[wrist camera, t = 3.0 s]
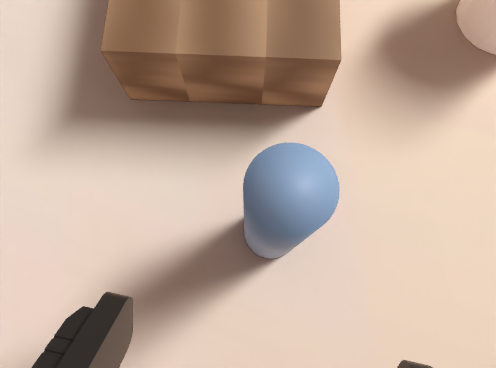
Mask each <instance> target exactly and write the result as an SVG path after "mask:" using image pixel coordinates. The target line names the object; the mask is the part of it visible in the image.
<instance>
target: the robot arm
mask: <svg viewBox="0 0 496 368" xmlns="http://www.w3.org/2000/svg"><path fill="white" fill-rule="evenodd" d="M132 331H133V300H132V297H128V296H124V295H120V294H115V293H111V292H106V293H105V294H104V295H103V296H102V297H101V299H100V300H99V302H98V304H97V305H96V307H95V308H94V309H93V308H89V307H84V306H83V307H82V308H80V309H79V310H77V311H76V312H75V313H73V314H72V315H71V316H69V317H68V318H67V319H66V320H65V321H64V323H63V324H62V326H61V327H60V328H59V330H58V331H57V333H56V334H55V336H54V338H53V339H52V340H51V341H50V342H49V344H48V345H47V347H46V348H45V351H44V353H42V354H41V355H40V357H39V358H38V359H37V361H36V362H35V364H34V365H33V366H32V368H119V366H120V364H121V362H122V360H123V358H124V356H125V354H126V352H127V350H128V347H129V344H130V341H131V337H132ZM397 368H432V367H431V366H428V365H424V364H419V363H415V362H411V361H406V360H403V361H401V362H400V364H399V366H398V367H397Z"/></svg>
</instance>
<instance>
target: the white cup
mask: <svg viewBox="0 0 496 368" xmlns="http://www.w3.org/2000/svg"><path fill="white" fill-rule="evenodd" d="M456 15H457V24H458V26H459V28H460V29H461V31H462V33H463V35H464V37H465V38H466V39H468V40H469V41H470V42H471V43H472V44H473V45H475V46H476V47H477V48H479V49H481V50H484V51H486V52H489V53H491V54H494V55H496V0H460V2H459V4H458V6H457V9H456Z"/></svg>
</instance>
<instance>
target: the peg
mask: <svg viewBox="0 0 496 368" xmlns="http://www.w3.org/2000/svg"><path fill="white" fill-rule="evenodd" d="M243 197H244V235H245V240H246V242H247V245H248V246H249V248H250V249H251V250H252V251H253V252H254V253H255V254H257V255H258V256H260V257H263V258H268V259H274V258H279V257H281V256H284V255H285V254H287V253H288V252H289V251H290V250H292V249H293V248H294V247H296V246H297V245H298V244H299V243H301V242H302V241H303V240H305V239H306V238H307V237H308V236H310V235H311V234H312V233H314V232H315V231H316V230H317V229H319V228H320V227H321V226H323V225H324V224H325V223H326V222H327V221H328V220H329V219H330V217H331V216H332V214H333V213H334V211H335V209H336V206H337V203H338V199H339V182H338V178H337V175H336V172H335V170H334V168H333V167H332V165H331V164H330V162H329V161H328V160H327V159H326V158H325V157H324V156H323V155H322V154H321V153H319V152H318V151H316V150H315V149H313V148H311V147H309V146H306V145H303V144H298V143H281V144H277V145H273V146H271V147H269V148H267V149H265V150H263V151H262V152H261V153H259V154H258V155H257V156H256V157H255V158H254V159H253V161H252V162H251V163H250V165H249V167H248V169H247V171H246V174H245V177H244V183H243Z"/></svg>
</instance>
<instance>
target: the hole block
mask: <svg viewBox="0 0 496 368" xmlns="http://www.w3.org/2000/svg"><path fill="white" fill-rule="evenodd" d="M101 52H102V54H103V56H104V57H105V59H106V60H107V62H108V64H109V65H110V67H111V68H112V70H113V72H114V73H115V75H116V77H117V78H118V80H119V81H120V83H121V85H122V86H123V88H124V90H125V91H126V93H127V94H128V96H129V98H130V99H142V100H168V101H193V102H219V103H244V104H270V105H296V106H322V104H323V102H324V99H325V97H326V95H327V92H328V90H329V88H330V85H331V83H332V81H333V78H334V76H335V73H336V71H337V69H338V66H339V64H340V62H341V35H340V1H339V0H109V2H108V8H107V14H106V20H105V26H104V32H103V38H102V44H101Z"/></svg>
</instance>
